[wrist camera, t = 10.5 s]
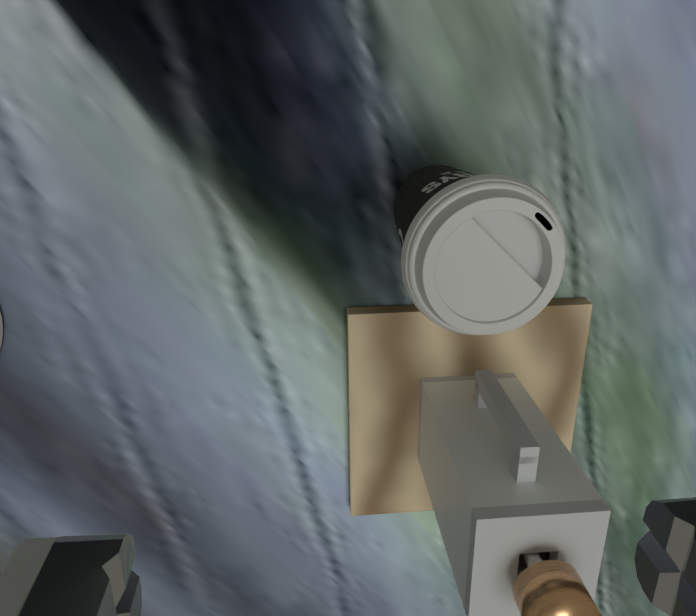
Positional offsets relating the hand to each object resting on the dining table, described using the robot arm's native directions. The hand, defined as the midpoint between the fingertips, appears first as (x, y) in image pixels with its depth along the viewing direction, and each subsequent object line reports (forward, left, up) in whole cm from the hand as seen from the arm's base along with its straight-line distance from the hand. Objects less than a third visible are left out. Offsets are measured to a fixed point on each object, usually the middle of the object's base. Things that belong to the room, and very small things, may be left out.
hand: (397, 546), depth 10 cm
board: (+12, -22, -38) cm, 45 cm away
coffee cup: (+9, -4, -38) cm, 40 cm away
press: (+12, -20, -37) cm, 44 cm away
